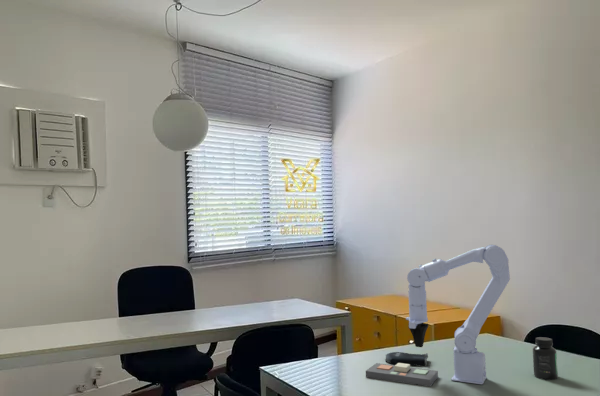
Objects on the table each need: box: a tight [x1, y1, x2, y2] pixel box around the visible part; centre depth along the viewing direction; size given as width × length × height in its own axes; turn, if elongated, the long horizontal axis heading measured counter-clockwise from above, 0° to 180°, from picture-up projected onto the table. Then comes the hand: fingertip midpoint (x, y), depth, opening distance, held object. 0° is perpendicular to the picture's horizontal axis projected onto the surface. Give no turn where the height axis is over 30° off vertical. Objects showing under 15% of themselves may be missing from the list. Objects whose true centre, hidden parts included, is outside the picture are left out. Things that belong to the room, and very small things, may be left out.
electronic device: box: [384, 351, 429, 367], centre depth 172 cm, size 9×6×15 cm
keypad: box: [365, 362, 439, 387], centre depth 155 cm, size 21×10×2 cm, turn 60°
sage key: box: [413, 368, 429, 375], centre depth 153 cm, size 4×4×2 cm
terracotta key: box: [377, 363, 393, 370], centre depth 159 cm, size 4×4×2 cm
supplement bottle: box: [532, 336, 559, 381], centre depth 153 cm, size 7×7×12 cm
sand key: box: [394, 363, 411, 373], centre depth 156 cm, size 4×4×2 cm
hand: (419, 346), depth 157 cm, fingers closed
